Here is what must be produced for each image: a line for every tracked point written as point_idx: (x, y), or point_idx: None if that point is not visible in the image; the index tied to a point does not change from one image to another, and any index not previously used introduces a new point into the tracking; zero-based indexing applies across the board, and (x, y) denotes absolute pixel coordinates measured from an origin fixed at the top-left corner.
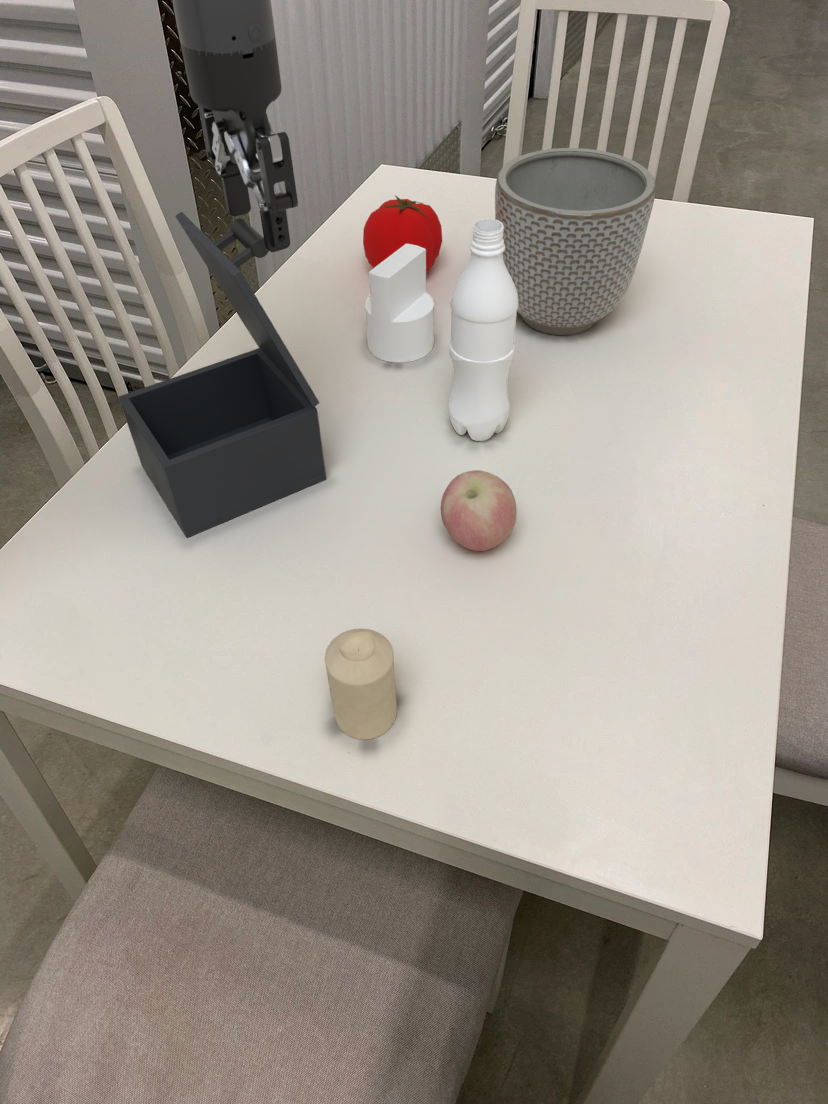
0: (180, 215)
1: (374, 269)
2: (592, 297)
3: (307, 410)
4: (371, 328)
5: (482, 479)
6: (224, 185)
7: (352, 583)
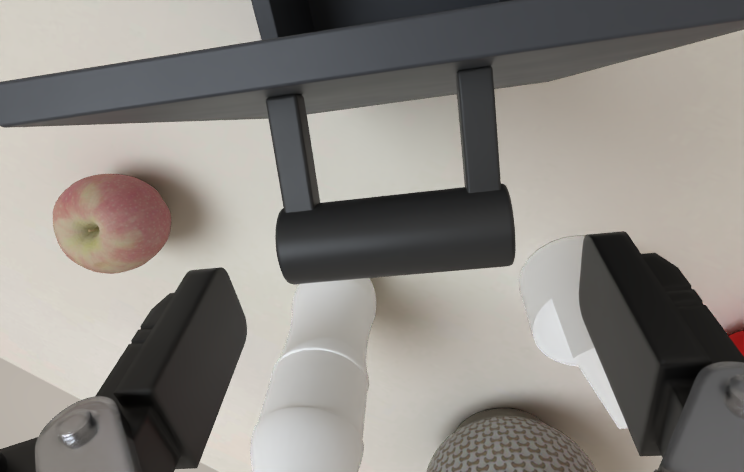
0: None
1: None
2: None
3: None
4: None
5: (94, 255)
6: (649, 330)
7: (82, 16)
